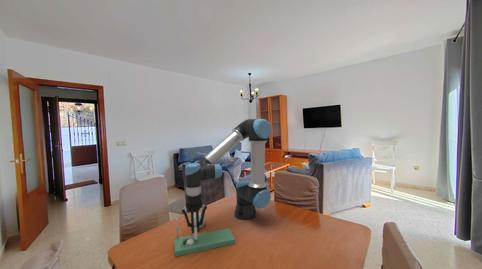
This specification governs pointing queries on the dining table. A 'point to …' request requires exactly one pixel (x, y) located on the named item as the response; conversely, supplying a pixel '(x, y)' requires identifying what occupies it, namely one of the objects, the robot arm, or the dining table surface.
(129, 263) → the dining table surface
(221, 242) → the mini golf green
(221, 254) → the dining table surface
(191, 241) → the ball
